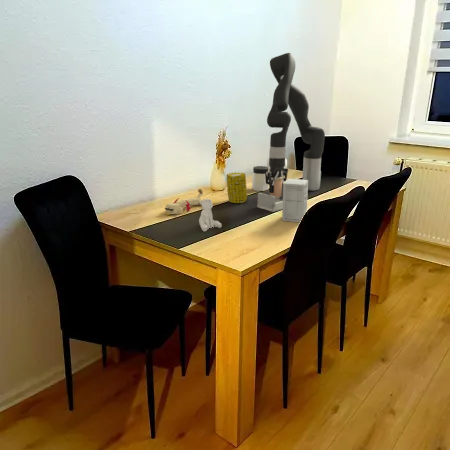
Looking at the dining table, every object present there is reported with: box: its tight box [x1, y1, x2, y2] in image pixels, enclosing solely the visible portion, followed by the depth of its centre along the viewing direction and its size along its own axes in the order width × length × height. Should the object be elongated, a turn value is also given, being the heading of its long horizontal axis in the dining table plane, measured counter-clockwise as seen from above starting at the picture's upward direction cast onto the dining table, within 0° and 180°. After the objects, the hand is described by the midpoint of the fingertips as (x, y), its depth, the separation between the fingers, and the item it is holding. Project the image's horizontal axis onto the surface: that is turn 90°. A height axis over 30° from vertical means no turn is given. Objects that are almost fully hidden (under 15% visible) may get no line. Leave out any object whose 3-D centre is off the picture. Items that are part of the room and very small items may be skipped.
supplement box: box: [281, 178, 309, 223], centre depth 196 cm, size 10×9×17 cm
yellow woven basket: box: [226, 172, 248, 205], centre depth 222 cm, size 15×12×10 cm
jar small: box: [269, 177, 283, 197], centre depth 213 cm, size 6×6×9 cm
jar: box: [251, 165, 269, 192], centre depth 245 cm, size 9×8×12 cm
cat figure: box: [164, 188, 205, 216], centre depth 210 cm, size 10×9×25 cm
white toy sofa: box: [256, 191, 283, 213], centre depth 216 cm, size 17×10×7 cm, turn 133°
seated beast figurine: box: [198, 198, 223, 232], centre depth 186 cm, size 10×9×12 cm
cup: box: [266, 157, 288, 172], centre depth 283 cm, size 12×12×10 cm
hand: (275, 191), depth 214 cm, fingers closed on jar small, 5 cm apart
